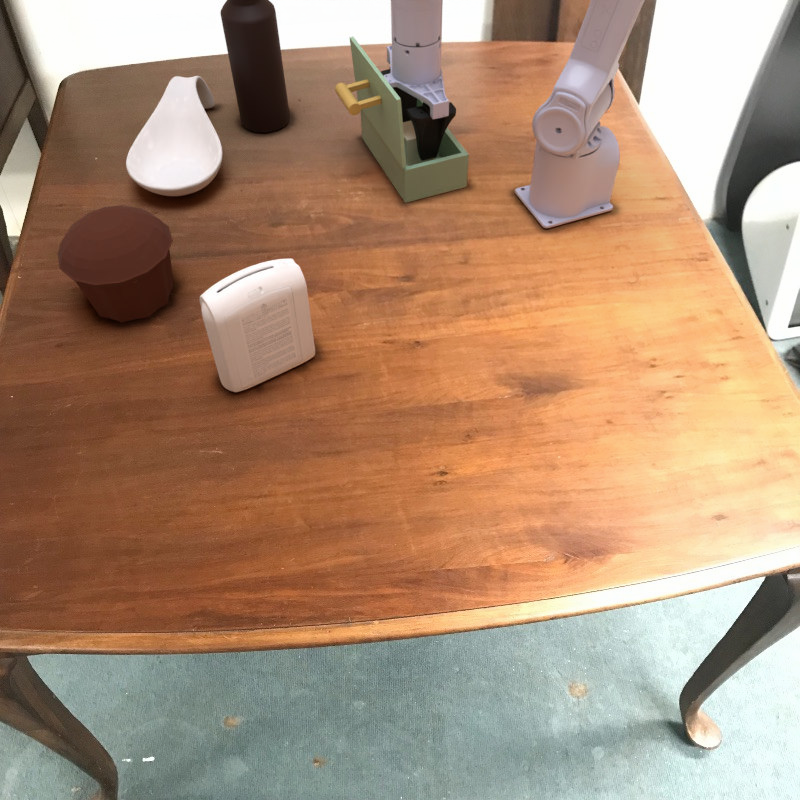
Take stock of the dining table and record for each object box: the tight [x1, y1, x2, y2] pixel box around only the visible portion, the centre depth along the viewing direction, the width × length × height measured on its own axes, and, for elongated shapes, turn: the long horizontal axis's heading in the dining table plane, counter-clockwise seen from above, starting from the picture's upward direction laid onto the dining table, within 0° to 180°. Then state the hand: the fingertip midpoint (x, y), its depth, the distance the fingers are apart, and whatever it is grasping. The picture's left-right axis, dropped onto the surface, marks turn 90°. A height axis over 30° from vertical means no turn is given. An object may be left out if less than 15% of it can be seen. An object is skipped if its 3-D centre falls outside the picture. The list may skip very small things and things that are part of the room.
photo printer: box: [199, 258, 316, 393], centre depth 74 cm, size 10×4×12 cm, turn 123°
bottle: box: [219, 0, 291, 134], centre depth 99 cm, size 7×7×20 cm
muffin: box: [57, 204, 174, 323], centre depth 82 cm, size 12×11×10 cm
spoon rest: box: [125, 75, 224, 197], centre depth 99 cm, size 24×12×7 cm, turn 3°
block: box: [403, 121, 436, 166], centre depth 99 cm, size 4×4×4 cm
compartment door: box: [334, 35, 406, 168], centre depth 92 cm, size 9×15×5 cm
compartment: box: [360, 99, 470, 204], centre depth 99 cm, size 8×15×5 cm, turn 22°
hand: (416, 141), depth 98 cm, fingers open, 7 cm apart
